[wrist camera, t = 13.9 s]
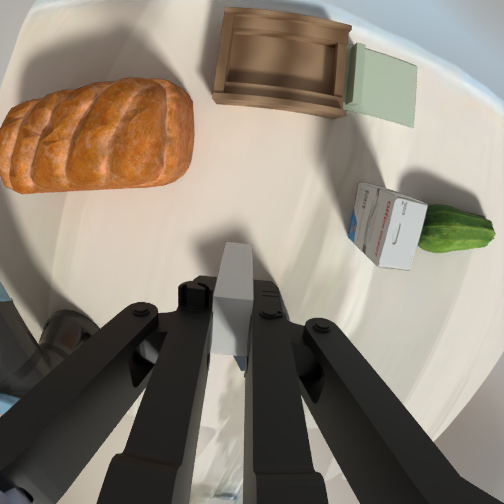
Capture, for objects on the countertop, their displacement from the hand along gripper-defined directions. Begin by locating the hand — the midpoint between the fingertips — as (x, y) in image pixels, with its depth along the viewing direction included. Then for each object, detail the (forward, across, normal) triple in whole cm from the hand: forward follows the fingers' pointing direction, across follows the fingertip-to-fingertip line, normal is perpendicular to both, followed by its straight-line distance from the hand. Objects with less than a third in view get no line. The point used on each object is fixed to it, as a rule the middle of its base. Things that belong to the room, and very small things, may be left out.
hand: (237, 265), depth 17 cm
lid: (+25, +18, +19) cm, 36 cm away
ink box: (+25, +18, 0) cm, 31 cm away
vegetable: (+25, +35, 0) cm, 43 cm away
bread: (+25, -21, +8) cm, 33 cm away
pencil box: (+24, +3, +19) cm, 31 cm away
